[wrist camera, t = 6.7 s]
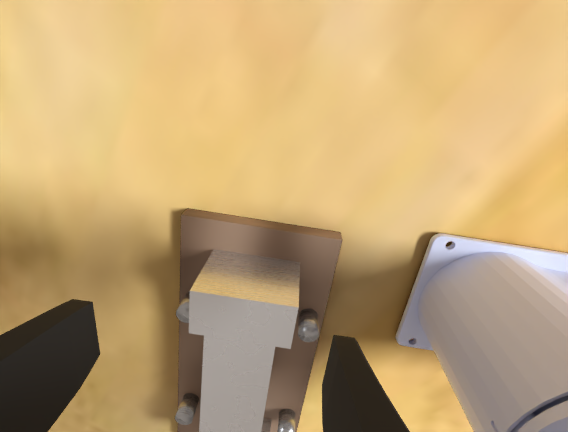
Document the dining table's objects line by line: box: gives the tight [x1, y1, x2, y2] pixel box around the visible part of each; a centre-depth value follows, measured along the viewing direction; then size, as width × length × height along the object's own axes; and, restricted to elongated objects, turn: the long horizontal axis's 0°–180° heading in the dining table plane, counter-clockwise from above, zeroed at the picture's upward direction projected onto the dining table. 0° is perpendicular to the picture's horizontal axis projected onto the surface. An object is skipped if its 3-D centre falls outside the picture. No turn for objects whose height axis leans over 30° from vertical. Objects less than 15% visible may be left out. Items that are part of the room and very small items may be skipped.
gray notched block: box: [189, 249, 300, 432], centre depth 19 cm, size 5×16×4 cm, turn 172°
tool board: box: [175, 208, 342, 432], centre depth 21 cm, size 9×20×2 cm, turn 172°
